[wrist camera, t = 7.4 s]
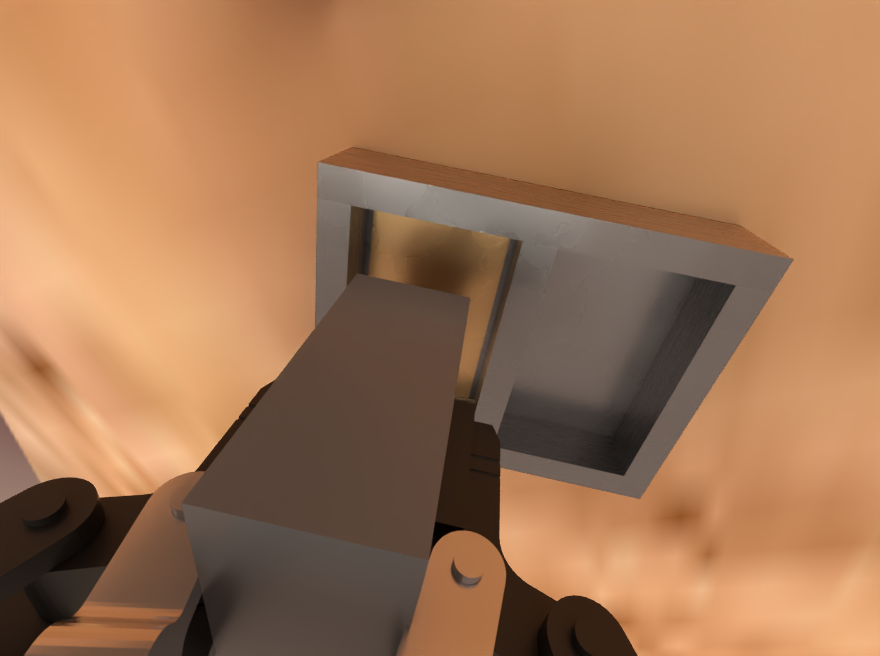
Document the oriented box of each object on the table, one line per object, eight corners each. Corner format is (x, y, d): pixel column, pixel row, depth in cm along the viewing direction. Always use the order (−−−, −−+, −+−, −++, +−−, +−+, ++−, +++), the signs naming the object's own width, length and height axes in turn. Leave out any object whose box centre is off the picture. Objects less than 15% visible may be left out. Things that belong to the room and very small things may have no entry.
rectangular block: (472, 298, 11) (433, 560, 5) (434, 457, 14) (382, 738, 8) (355, 273, 11) (177, 501, 5) (343, 437, 14) (224, 701, 8)
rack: (740, 226, 14) (793, 259, 11) (620, 445, 19) (637, 502, 17) (351, 147, 14) (317, 161, 12) (339, 382, 20) (313, 428, 17)
